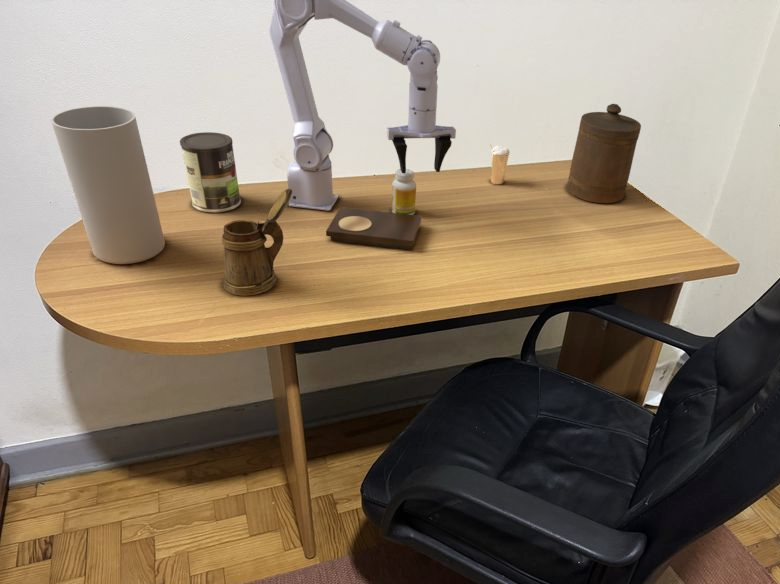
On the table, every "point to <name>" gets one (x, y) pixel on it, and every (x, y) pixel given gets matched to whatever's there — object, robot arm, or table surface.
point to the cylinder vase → (110, 182)
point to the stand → (374, 228)
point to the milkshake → (498, 164)
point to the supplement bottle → (404, 193)
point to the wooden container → (603, 156)
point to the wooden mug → (253, 251)
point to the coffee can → (211, 171)
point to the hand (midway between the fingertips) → (420, 170)
